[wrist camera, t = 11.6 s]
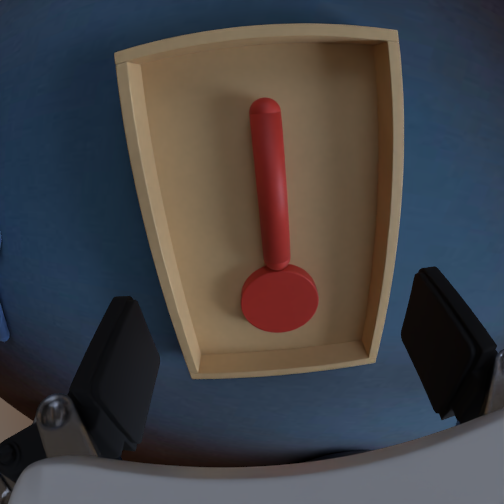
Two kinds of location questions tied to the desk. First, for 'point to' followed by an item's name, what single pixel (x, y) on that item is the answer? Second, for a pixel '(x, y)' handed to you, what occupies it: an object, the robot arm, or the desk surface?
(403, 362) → the desk surface
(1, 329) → the blue spoon
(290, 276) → the red spoon
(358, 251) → the oak tray
